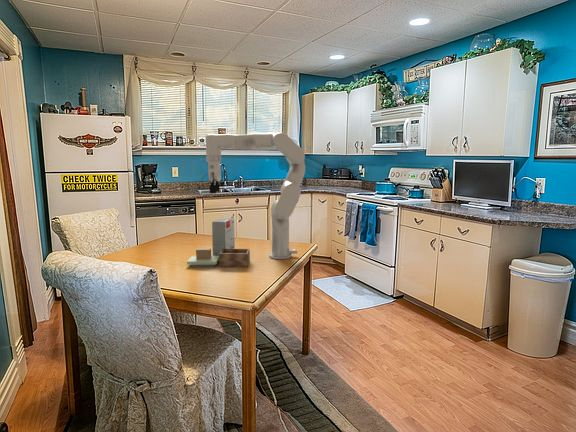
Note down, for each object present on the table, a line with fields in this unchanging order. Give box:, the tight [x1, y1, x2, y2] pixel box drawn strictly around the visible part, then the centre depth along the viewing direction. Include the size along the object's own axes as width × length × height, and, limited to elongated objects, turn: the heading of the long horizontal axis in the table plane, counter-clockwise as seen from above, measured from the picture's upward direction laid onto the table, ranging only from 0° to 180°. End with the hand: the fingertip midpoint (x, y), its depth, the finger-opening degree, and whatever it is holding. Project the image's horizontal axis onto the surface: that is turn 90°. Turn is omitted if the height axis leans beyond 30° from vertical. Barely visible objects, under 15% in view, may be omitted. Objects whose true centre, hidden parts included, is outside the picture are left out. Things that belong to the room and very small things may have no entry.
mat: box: [189, 264, 217, 268], centre depth 188 cm, size 12×10×1 cm
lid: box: [186, 247, 220, 265], centre depth 187 cm, size 15×11×8 cm
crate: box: [219, 248, 251, 268], centre depth 188 cm, size 14×10×7 cm
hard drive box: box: [211, 217, 236, 256], centre depth 206 cm, size 16×8×20 cm, turn 168°
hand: (214, 192), depth 191 cm, fingers open, 9 cm apart
